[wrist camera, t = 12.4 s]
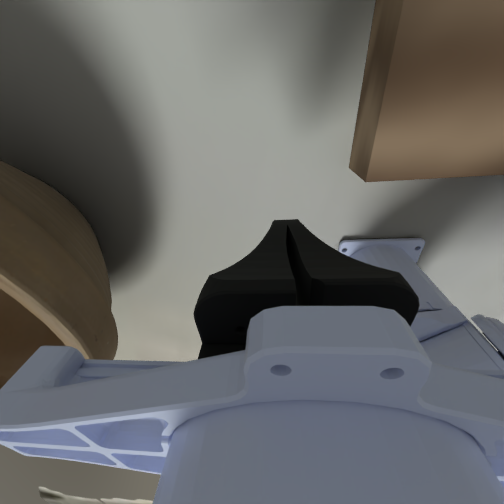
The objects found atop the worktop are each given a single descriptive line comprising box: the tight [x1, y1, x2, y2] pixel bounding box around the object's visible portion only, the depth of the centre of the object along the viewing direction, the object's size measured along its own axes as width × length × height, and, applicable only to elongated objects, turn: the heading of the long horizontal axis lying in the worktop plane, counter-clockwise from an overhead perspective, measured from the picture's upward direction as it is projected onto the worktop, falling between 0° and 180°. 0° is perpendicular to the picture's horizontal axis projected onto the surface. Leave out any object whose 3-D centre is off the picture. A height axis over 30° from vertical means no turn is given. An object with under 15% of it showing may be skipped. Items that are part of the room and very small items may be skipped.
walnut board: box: [349, 0, 504, 182], centre depth 13 cm, size 12×12×4 cm
